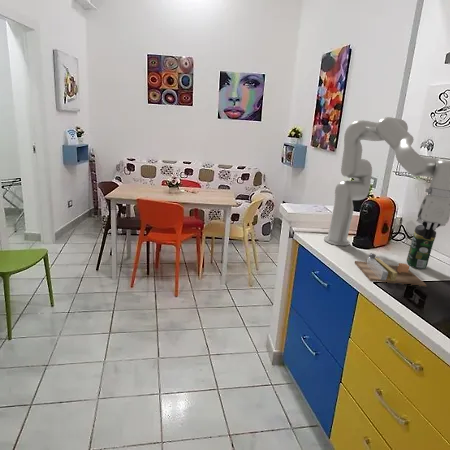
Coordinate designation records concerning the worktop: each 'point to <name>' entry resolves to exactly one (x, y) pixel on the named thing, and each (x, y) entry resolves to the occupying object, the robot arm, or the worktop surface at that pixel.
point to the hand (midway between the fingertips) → (426, 238)
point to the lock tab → (403, 268)
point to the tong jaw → (391, 272)
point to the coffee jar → (420, 249)
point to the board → (401, 278)
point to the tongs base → (376, 267)
